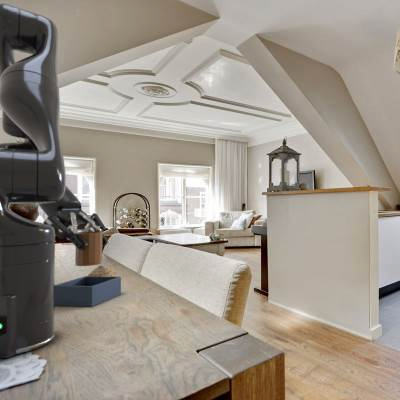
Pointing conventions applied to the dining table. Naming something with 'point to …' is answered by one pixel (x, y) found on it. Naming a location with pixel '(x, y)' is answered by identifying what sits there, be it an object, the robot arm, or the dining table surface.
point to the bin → (86, 291)
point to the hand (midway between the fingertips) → (95, 246)
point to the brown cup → (90, 249)
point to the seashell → (102, 272)
